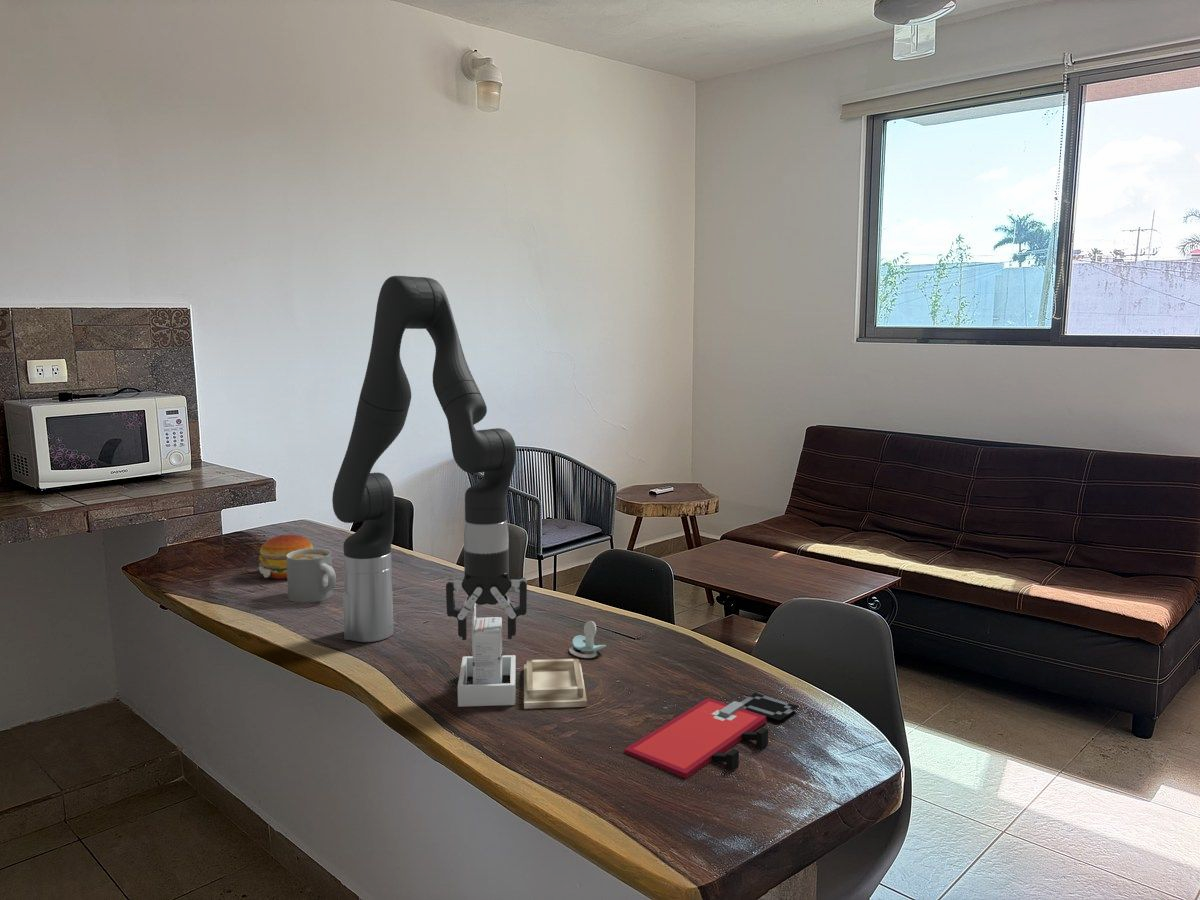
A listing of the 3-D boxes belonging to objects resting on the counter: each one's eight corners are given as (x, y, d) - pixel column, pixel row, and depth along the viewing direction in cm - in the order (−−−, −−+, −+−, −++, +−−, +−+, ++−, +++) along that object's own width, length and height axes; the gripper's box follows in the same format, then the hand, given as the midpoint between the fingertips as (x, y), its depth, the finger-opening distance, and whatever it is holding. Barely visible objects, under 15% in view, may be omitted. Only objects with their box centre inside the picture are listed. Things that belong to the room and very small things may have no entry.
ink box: (501, 699, 147) (500, 616, 144) (472, 700, 146) (471, 617, 144) (502, 679, 155) (502, 600, 153) (475, 679, 155) (474, 600, 152)
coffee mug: (280, 595, 200) (278, 553, 199) (321, 586, 207) (319, 545, 206) (306, 609, 191) (304, 565, 189) (348, 599, 198) (346, 557, 196)
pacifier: (587, 663, 163) (610, 654, 167) (586, 632, 162) (609, 623, 166) (561, 652, 168) (584, 644, 172) (561, 622, 167) (584, 614, 171)
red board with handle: (809, 714, 142) (731, 690, 152) (809, 698, 142) (731, 675, 151) (708, 791, 120) (624, 757, 129) (708, 772, 119) (624, 740, 129)
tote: (457, 706, 144) (457, 686, 143) (463, 674, 157) (462, 656, 156) (515, 704, 145) (514, 685, 144) (515, 673, 157) (515, 655, 157)
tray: (524, 708, 143) (523, 694, 143) (523, 669, 159) (523, 656, 159) (586, 706, 144) (587, 692, 144) (580, 668, 160) (580, 655, 160)
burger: (327, 572, 219) (325, 533, 217) (282, 585, 208) (280, 545, 206) (292, 563, 226) (290, 526, 225) (247, 576, 215) (244, 537, 213)
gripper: (441, 552, 142) (443, 647, 145) (528, 551, 144) (529, 645, 146) (445, 540, 150) (447, 631, 152) (528, 539, 151) (528, 629, 153)
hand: (487, 638), depth 149 cm, fingers open, 7 cm apart
